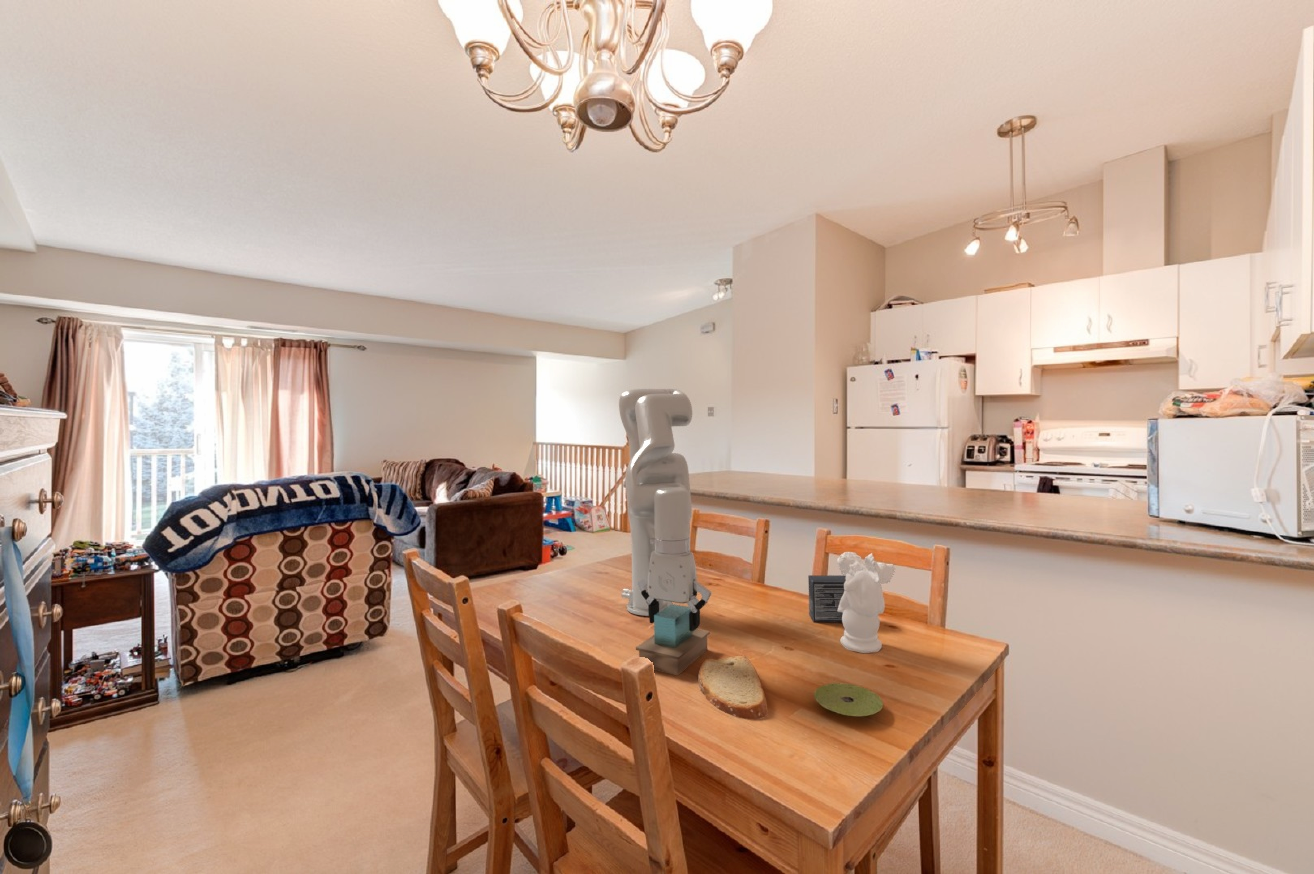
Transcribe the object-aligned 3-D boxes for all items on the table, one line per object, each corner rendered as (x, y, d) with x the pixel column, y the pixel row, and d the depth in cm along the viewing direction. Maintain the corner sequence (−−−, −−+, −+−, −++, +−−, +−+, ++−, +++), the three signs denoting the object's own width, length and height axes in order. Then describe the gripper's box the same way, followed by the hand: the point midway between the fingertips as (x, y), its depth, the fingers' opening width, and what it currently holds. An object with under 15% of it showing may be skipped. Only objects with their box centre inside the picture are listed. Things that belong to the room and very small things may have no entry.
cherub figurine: (832, 637, 125) (830, 543, 125) (883, 634, 126) (881, 541, 126) (856, 658, 113) (854, 554, 113) (912, 655, 114) (910, 552, 114)
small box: (849, 614, 139) (849, 574, 139) (856, 623, 133) (856, 581, 133) (808, 613, 140) (807, 573, 140) (813, 622, 134) (812, 581, 134)
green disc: (829, 686, 101) (829, 676, 101) (891, 705, 94) (891, 694, 94) (803, 712, 93) (803, 700, 93) (870, 734, 86) (870, 722, 86)
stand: (636, 666, 111) (635, 647, 111) (670, 640, 124) (670, 623, 124) (678, 677, 106) (678, 657, 106) (710, 649, 119) (710, 631, 119)
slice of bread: (758, 726, 89) (758, 704, 89) (669, 695, 100) (669, 675, 100) (799, 683, 104) (799, 664, 104) (718, 660, 114) (718, 643, 114)
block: (654, 643, 113) (654, 615, 113) (672, 630, 120) (672, 603, 120) (675, 648, 111) (675, 619, 110) (692, 634, 117) (692, 607, 117)
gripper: (629, 545, 116) (630, 623, 116) (701, 553, 107) (703, 638, 108) (647, 538, 122) (648, 613, 123) (716, 546, 114) (718, 626, 114)
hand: (673, 625), depth 115 cm, fingers open, 9 cm apart
